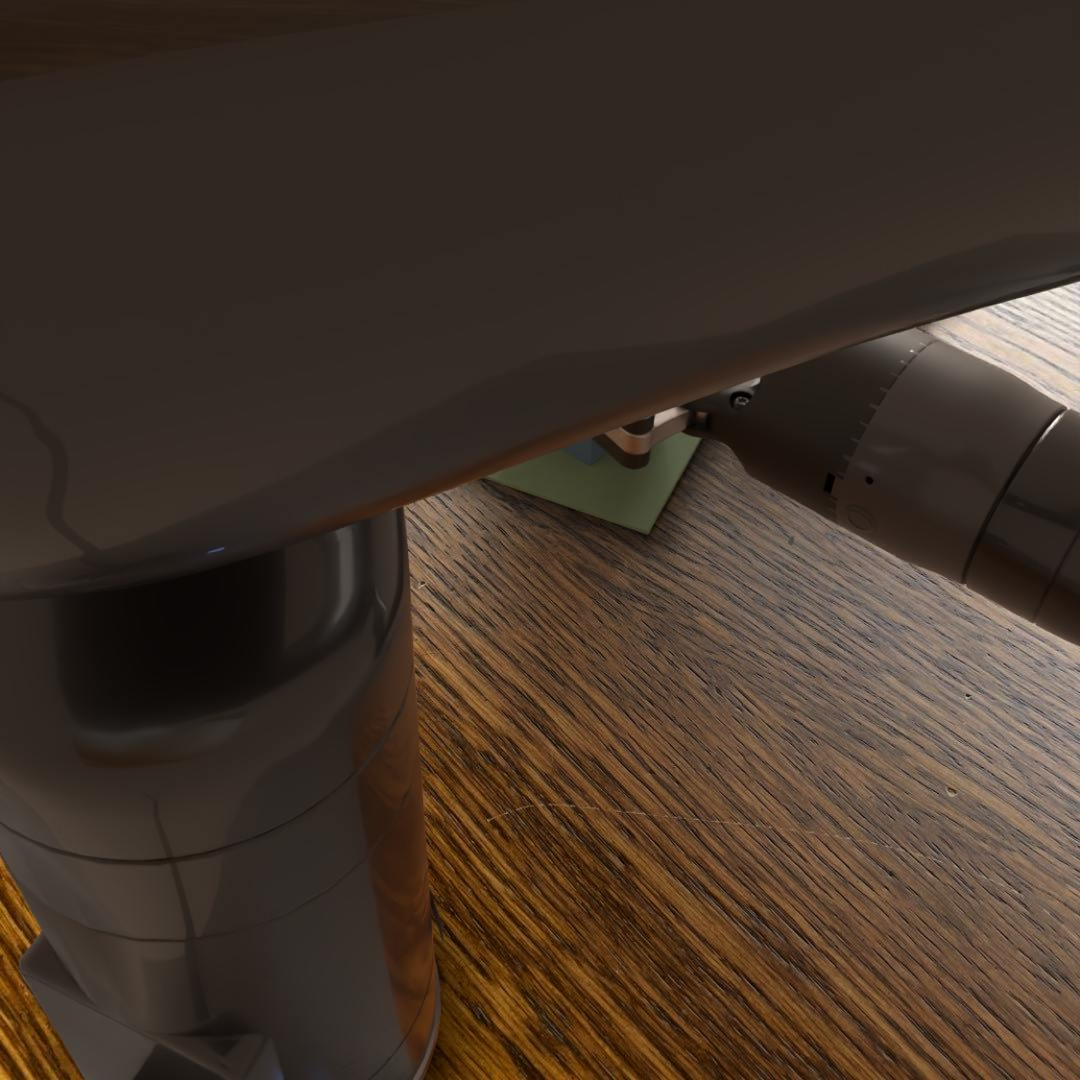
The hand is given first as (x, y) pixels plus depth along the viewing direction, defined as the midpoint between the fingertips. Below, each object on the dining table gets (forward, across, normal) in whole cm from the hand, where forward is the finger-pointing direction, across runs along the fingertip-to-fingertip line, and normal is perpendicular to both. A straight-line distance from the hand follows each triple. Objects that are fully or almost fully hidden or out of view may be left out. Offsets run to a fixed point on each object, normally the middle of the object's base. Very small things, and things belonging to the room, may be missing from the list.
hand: (541, 258), depth 53 cm
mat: (-3, 0, +7) cm, 8 cm away
